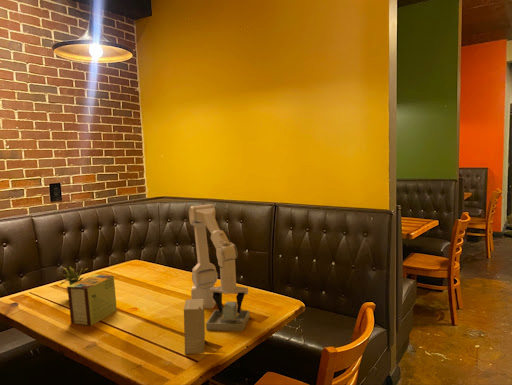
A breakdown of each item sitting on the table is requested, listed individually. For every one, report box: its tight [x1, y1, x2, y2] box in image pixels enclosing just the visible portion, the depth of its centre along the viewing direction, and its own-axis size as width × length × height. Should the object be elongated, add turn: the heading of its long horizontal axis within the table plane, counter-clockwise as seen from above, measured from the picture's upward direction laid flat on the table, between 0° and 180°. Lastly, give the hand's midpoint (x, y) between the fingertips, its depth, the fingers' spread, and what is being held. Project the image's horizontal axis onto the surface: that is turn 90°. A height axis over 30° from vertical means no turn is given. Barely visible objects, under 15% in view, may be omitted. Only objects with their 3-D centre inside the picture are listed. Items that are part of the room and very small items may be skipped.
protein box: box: [66, 273, 118, 327], centre depth 155 cm, size 10×15×16 cm
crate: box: [205, 309, 251, 332], centre depth 143 cm, size 14×12×3 cm
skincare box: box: [183, 298, 206, 355], centre depth 126 cm, size 8×7×16 cm
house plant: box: [59, 266, 89, 293], centre depth 175 cm, size 14×14×16 cm
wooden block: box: [221, 312, 240, 324], centre depth 142 cm, size 6×6×4 cm
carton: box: [222, 301, 237, 319], centre depth 142 cm, size 4×6×4 cm, turn 171°
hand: (229, 311), depth 141 cm, fingers open, 6 cm apart
